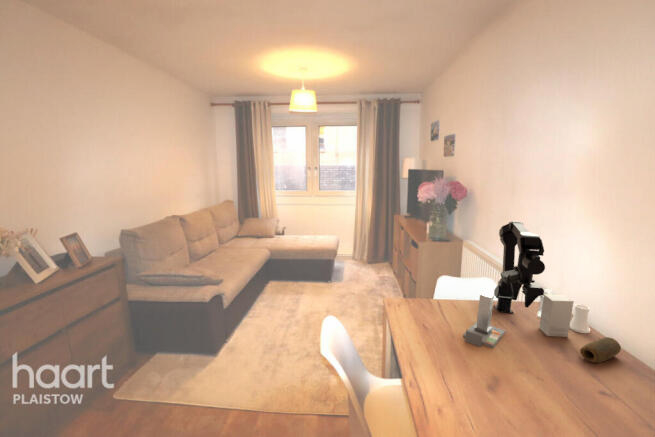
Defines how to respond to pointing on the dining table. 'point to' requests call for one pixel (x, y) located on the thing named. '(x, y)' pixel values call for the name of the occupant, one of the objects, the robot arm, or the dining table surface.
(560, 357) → the dining table surface
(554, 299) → the skincare box
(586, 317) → the vase
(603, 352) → the brown hollow cylinder
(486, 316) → the bar
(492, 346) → the gauge board
